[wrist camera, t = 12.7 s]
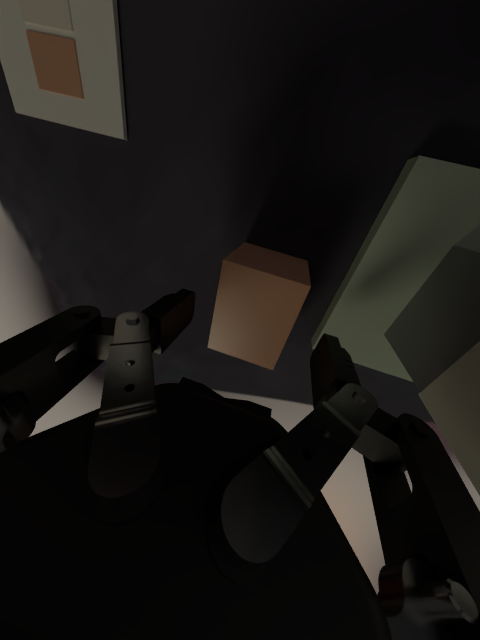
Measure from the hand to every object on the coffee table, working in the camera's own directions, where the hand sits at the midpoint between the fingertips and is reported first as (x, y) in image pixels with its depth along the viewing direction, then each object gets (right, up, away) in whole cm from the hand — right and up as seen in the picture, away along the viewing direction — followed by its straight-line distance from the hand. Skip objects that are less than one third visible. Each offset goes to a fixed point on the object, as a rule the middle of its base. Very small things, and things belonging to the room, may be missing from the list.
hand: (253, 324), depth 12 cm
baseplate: (+12, +2, +1) cm, 12 cm away
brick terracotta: (+1, +3, +3) cm, 4 cm away
